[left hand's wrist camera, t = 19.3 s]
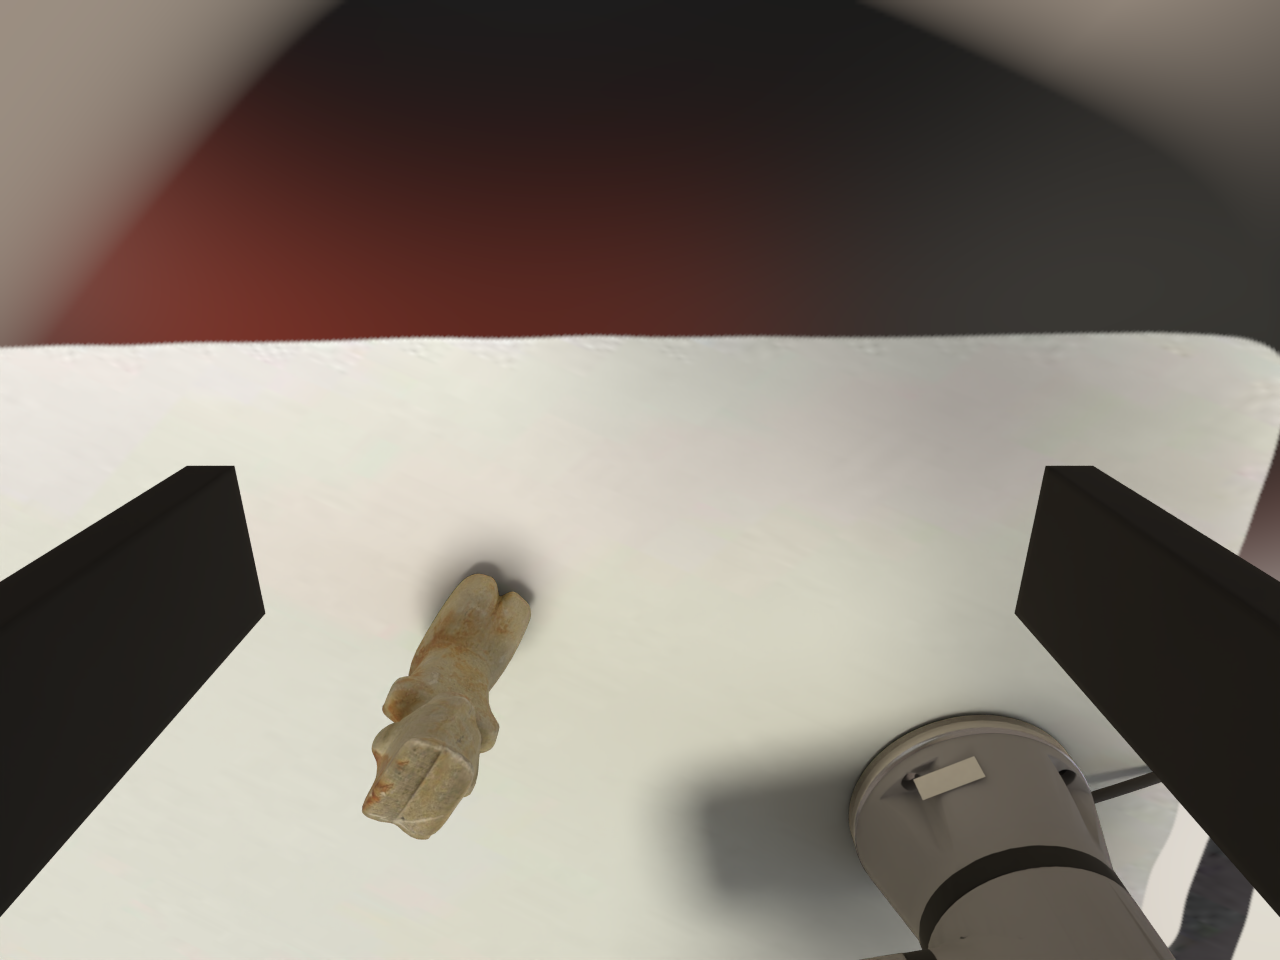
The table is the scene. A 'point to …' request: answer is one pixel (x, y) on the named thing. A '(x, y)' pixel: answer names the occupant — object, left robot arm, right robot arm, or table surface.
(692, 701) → the table surface
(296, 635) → the table surface
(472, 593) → the sculpture
